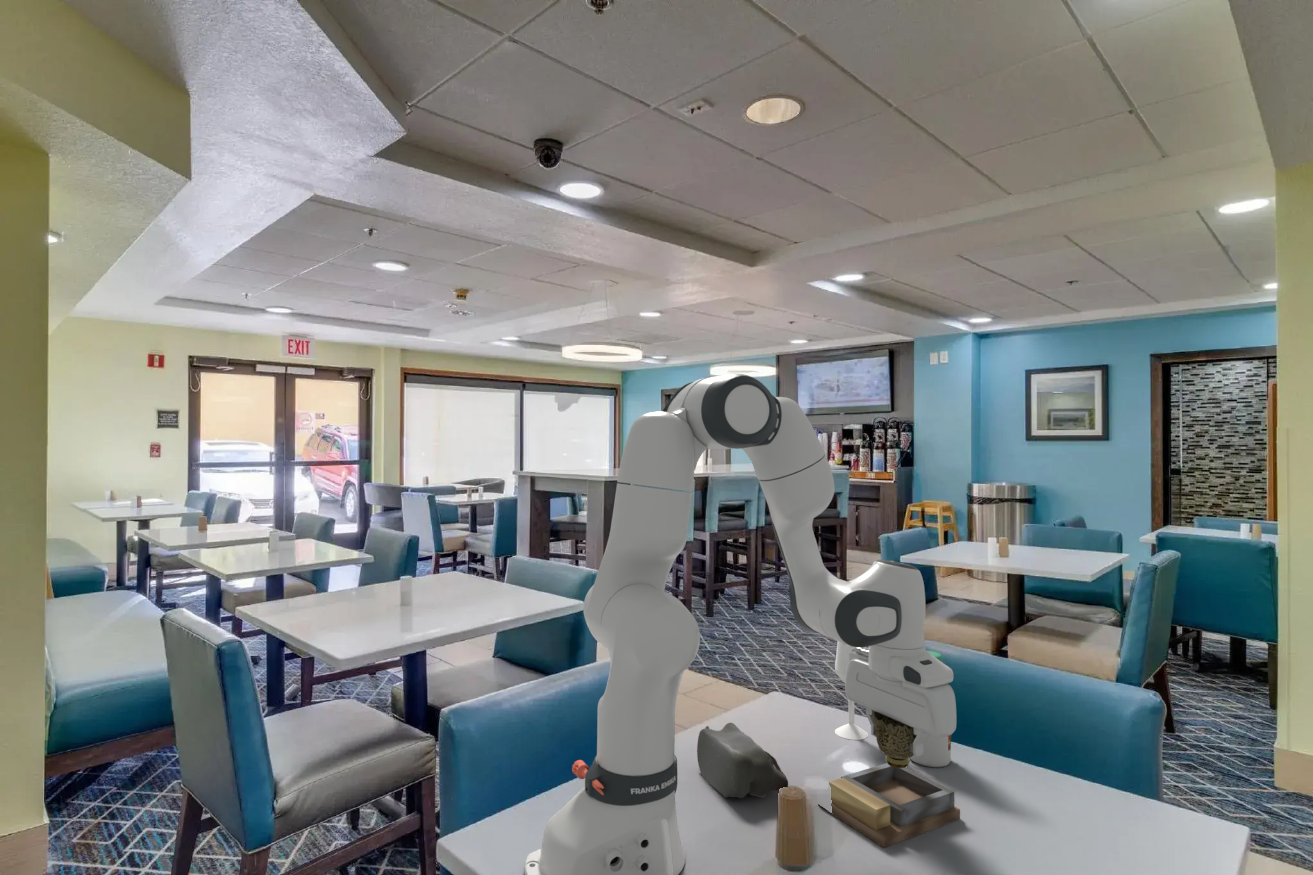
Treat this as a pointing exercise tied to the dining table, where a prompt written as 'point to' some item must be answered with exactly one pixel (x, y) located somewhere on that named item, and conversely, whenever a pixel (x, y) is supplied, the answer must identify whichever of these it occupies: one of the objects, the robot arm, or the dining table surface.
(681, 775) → the dining table surface
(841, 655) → the champagne flute
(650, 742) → the robot arm
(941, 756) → the milk bottle
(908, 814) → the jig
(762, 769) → the rock
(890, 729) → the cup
